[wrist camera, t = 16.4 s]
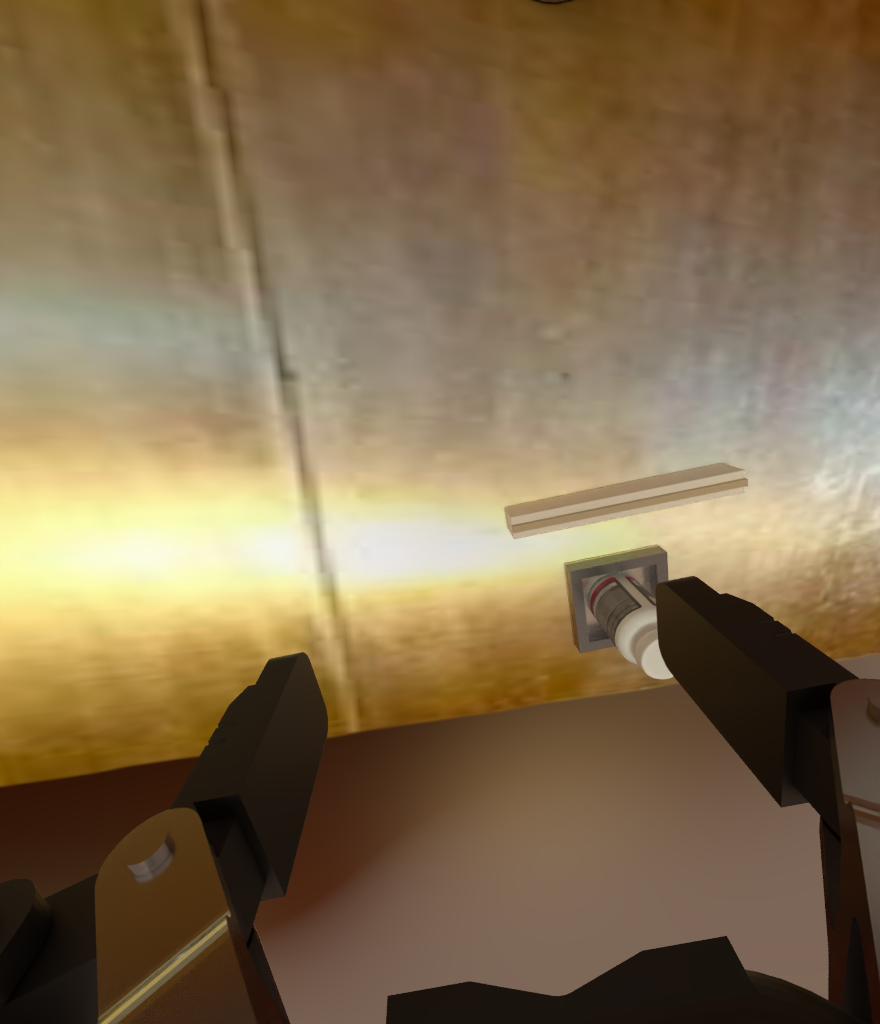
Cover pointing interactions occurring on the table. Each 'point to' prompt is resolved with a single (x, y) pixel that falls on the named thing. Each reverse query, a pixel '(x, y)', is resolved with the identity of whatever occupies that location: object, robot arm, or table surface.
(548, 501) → the door edge sill
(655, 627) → the pill bottle
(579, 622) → the index socket
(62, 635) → the table surface
